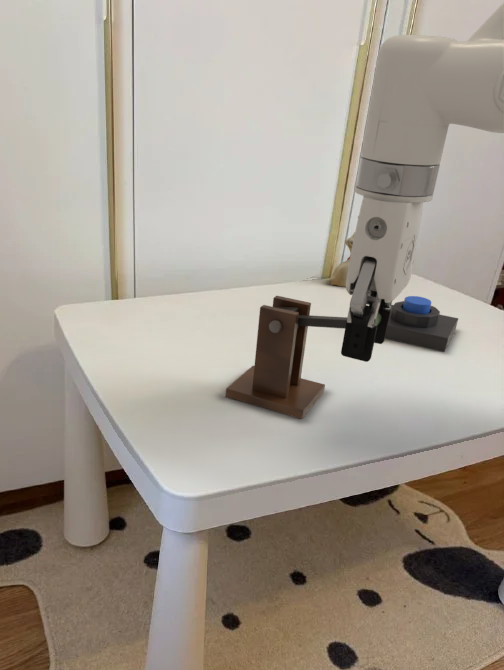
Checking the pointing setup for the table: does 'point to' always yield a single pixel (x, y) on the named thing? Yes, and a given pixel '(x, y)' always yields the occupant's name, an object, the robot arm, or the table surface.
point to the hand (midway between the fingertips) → (363, 347)
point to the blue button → (417, 305)
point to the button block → (420, 327)
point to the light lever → (323, 320)
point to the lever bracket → (279, 363)
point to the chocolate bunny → (342, 268)
